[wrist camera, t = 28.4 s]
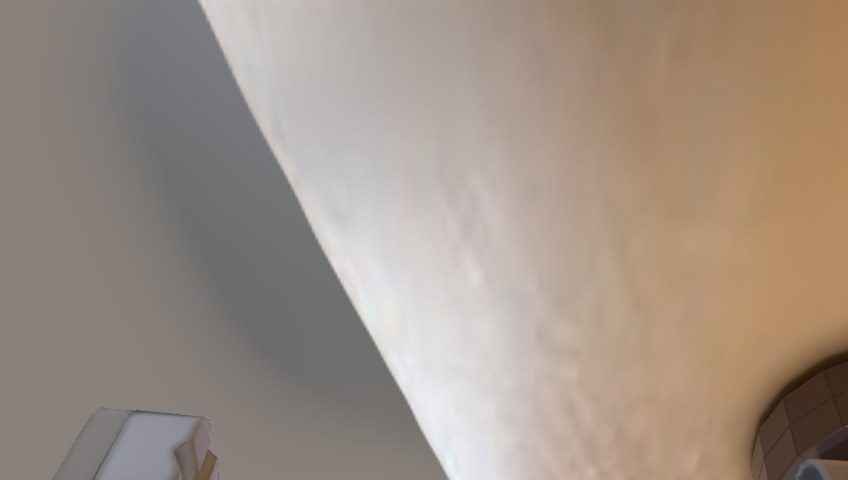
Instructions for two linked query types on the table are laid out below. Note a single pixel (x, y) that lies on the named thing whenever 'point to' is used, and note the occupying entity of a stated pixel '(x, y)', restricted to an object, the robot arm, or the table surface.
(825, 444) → the bowl
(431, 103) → the table surface
